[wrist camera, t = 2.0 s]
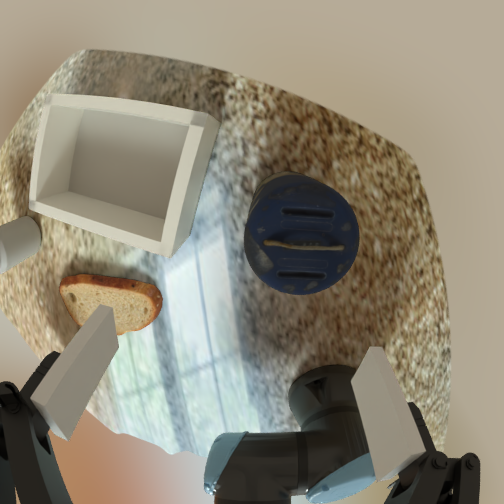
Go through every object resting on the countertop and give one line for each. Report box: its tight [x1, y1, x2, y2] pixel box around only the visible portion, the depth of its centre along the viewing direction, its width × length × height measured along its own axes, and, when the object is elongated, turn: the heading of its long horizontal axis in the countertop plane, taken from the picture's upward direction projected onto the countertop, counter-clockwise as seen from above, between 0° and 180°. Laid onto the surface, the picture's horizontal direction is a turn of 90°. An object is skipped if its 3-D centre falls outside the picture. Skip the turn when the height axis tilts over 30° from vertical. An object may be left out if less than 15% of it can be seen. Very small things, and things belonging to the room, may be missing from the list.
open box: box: [29, 94, 221, 258], centre depth 31 cm, size 23×16×9 cm
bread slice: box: [59, 274, 163, 335], centre depth 42 cm, size 18×18×4 cm
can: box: [0, 216, 41, 274], centre depth 34 cm, size 8×8×12 cm
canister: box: [244, 171, 359, 295], centre depth 28 cm, size 10×10×18 cm
